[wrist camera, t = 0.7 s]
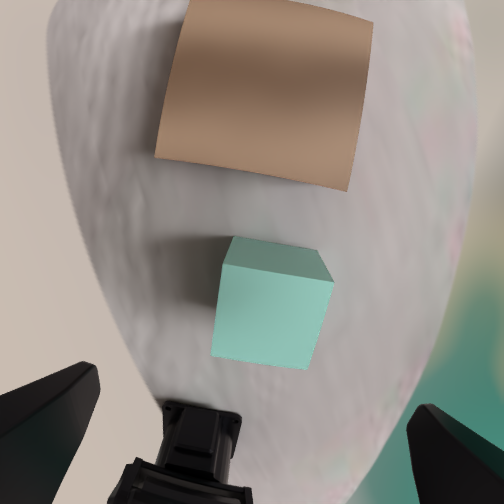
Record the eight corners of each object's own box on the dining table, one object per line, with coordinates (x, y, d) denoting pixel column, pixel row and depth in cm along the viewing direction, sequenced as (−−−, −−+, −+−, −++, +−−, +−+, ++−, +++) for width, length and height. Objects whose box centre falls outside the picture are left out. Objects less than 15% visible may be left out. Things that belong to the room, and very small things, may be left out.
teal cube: (298, 322, 20) (307, 369, 15) (222, 310, 20) (210, 355, 15) (316, 250, 18) (334, 282, 13) (233, 235, 18) (222, 263, 13)
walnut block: (329, 184, 17) (346, 192, 13) (177, 157, 17) (154, 157, 13) (352, 47, 15) (373, 22, 11) (206, 21, 14) (192, -9, 11)
